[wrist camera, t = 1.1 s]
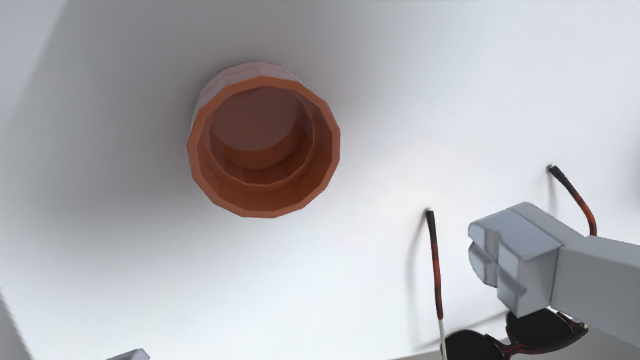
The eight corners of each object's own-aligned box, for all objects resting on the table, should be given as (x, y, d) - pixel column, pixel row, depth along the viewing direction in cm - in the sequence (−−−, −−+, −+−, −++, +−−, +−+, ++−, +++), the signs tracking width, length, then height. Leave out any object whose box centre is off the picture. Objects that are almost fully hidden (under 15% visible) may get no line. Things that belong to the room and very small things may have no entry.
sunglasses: (422, 348, 34) (452, 396, 29) (401, 209, 27) (437, 246, 22) (545, 297, 35) (592, 336, 31) (557, 154, 28) (620, 178, 24)
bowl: (170, 82, 18) (158, 106, 14) (301, 44, 18) (324, 56, 15) (219, 193, 21) (220, 237, 17) (328, 157, 22) (353, 191, 18)
